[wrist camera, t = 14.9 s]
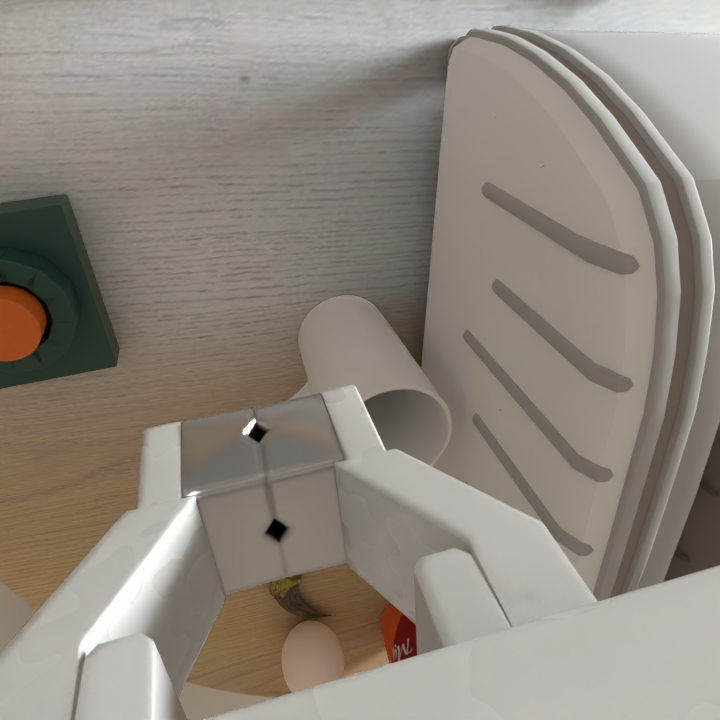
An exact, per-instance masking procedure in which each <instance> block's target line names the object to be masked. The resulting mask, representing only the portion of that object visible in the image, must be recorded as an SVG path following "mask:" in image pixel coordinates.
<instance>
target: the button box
mask: <svg viewBox="0 0 720 720" xmlns="http://www.w3.org/2000/svg"><path fill="white" fill-rule="evenodd" d="M0 285H5V286H13V287H17V288H20V289H23V290H25V291H27V292H28V293H30V294H31V295H33V296H34V297H35V298H36V299H37V300H38V301H39V302H40V303H41V305H42V306H43V308H44V310H45V313H46V317H47V323H46V328H45V330H44V333H43V335H42V338H41V340H40V343H39V345H38V347H37V348H36V349H35V351H33V352H32V353H31V354H30V355H28V356H26V357H25V358H22V359H19V360H15V361H0V389H1V388H6V387H12V386H17V385H22V384H27V383H32V382H37V381H43V380H48V379H53V378H58V377H63V376H69V375H74V374H79V373H84V372H89V371H94V370H100V369H105V368H110V367H115V366H117V360H118V354H119V346H118V343H117V340H116V337H115V334H114V332H113V329H112V326H111V323H110V320H109V317H108V314H107V311H106V308H105V305H104V302H103V299H102V296H101V293H100V290H99V287H98V284H97V281H96V278H95V275H94V272H93V270H92V267H91V264H90V261H89V258H88V255H87V252H86V249H85V246H84V243H83V240H82V237H81V234H80V231H79V228H78V225H77V222H76V219H75V216H74V213H73V211H72V208H71V205H70V202H69V199H68V196H67V195H66V194H63V195H56V196H49V197H42V198H35V199H28V200H21V201H14V202H7V203H0Z"/></svg>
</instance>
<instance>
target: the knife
mask: <svg viewBox="0 0 720 720" xmlns="http://www.w3.org/2000/svg"><path fill="white" fill-rule="evenodd" d="M286 575H287V574H286ZM301 580H302V575H301V574H299V575H295V576H290V577H286V578H283V579H279V580H276V581H272V583H271V585H270V587H269V590H270V594H271V595H272V596H274V598H275V599H276V600H277V602H278V603H279V604H280V605H281V606H282V607H283V608H284V609H285V610H287V611H289V612H290V613H293V614H296V615H299V616H304V617H311V618H318V617H326V616H331V615H325V614H320V613H317V612H315V611H313V610H311V609H310V608H308V607H307V606H306V605H305V604H304V603H303V601H302V599H301V597H300V594H299V588H298V587H299V584H300V582H301Z"/></svg>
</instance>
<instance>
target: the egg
mask: <svg viewBox="0 0 720 720" xmlns="http://www.w3.org/2000/svg"><path fill="white" fill-rule="evenodd" d="M282 669H283V674H284V678H285V681H286V683H287V686H288V687H289V689H290V691H291V692H292V693H293V692H296V691H300V690H303V689H307V688H310V687H313V686H317V685H320V684H323V683H327V682H330V681H333V680H337V679H340V678H343V676H344V669H345V666H344V656H343V651H342V647H341V645H340V642H339V640H338V638H337V637H336V635H335V634H334V632H333V631H332V630H331V629H330V628H329V627H328V626H326V625H325V624H323V623H321V622H318V621H313V620H307V621H303V622H301V623H299V624H298V625H296V626H295V627H294V628H293V629H292V630H291V631H290V633H289V635H288V636H287V638H286V640H285V642H284V645H283V649H282Z"/></svg>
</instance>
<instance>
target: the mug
mask: <svg viewBox="0 0 720 720" xmlns="http://www.w3.org/2000/svg"><path fill="white" fill-rule="evenodd" d="M298 344H299V349H300V353H301V357H302V361H303V365H304V368H305V371H306V375H307V378H308V380H307V382H306V384H305V385H304V387H303V388H302V389H301V390H300V391H299V392H297V393H296V394H295V395H294V396H292V397H291V398H290V399H289V400H292V399H296V398H300V397H305V396H309V395H314V394H318V393H320V392H323V391H327V390H331V389H335V388H340V387H344V386H348V385H354V386H355V387H356V388H357V390H358V392H359V394H360V396H361V398H362V401H363V403H364V405H365V407H366V409H367V411H368V413H369V416H370V418H371V420H372V422H373V424H374V426H375V428H376V430H377V433H378V435H379V437H380V439H381V441H382V443H383V445H384V448H385V450H386V451H388V450H392V449H398V450H400V451H402V452H404V453H406V454H408V455H410V456H411V457H413V458H415V459H417V460H419V461H421V462H423V463H425V464H427V465H429V466H431V467H432V466H433V465H434V464H435V463H436V462H437V460H438V459H439V458H440V457H441V455H442V454H443V453H444V451H445V449H446V447H447V445H448V443H449V440H450V437H451V433H452V417H451V413H450V410H449V408H448V406H447V404H446V403H445V401H444V400H443V399H442V398H441V397H440V396H439V394H438V392H437V391H436V389H435V388H434V386H433V385H432V383H431V382H430V381H429V379H428V378H427V376H426V375H425V374H424V372H423V371H422V369H421V368H420V367H419V365H418V364H417V362H416V361H415V360H414V358H413V357H412V355H411V354H410V353H409V351H408V350H407V348H406V347H405V346H404V344H403V343H402V341H401V340H400V338H399V337H398V336H397V334H396V333H395V331H394V330H393V328H392V327H391V326H390V325H389V323H388V322H387V321H386V319H385V318H384V317H383V315H382V314H381V312H380V311H379V310H378V309H377V307H376V306H375V305H373V304H372V303H371V302H369V301H368V300H366V299H364V298H361V297H358V296H352V295H341V296H336V297H332V298H329V299H327V300H325V301H323V302H321V303H319V304H318V305H316V306H315V307H314V308H313V309H312V310H311V311H310V312H309V313H308V314H307V316H306V317H305V319H304V320H303V322H302V324H301V327H300V330H299V336H298Z"/></svg>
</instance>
